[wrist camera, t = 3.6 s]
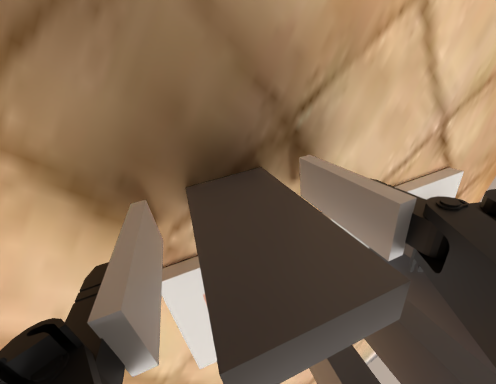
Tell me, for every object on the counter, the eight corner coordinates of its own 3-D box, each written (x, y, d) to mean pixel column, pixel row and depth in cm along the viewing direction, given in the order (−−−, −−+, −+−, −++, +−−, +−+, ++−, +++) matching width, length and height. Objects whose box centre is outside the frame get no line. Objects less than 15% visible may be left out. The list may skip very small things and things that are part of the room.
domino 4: (325, 290, 20) (444, 437, 11) (325, 250, 18) (476, 397, 9) (339, 283, 20) (465, 422, 12) (341, 244, 18) (501, 379, 9)
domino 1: (185, 187, 13) (219, 374, 4) (260, 166, 14) (411, 280, 5) (192, 209, 14) (234, 407, 5) (263, 188, 15) (399, 318, 6)
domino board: (156, 270, 14) (155, 283, 13) (449, 167, 21) (464, 171, 20) (198, 354, 19) (199, 369, 18) (423, 251, 26) (434, 257, 25)
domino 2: (279, 310, 19) (373, 492, 10) (274, 271, 16) (389, 461, 8) (295, 303, 19) (398, 472, 10) (292, 264, 17) (421, 438, 8)
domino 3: (365, 271, 21) (503, 393, 12) (371, 232, 19) (545, 347, 10) (378, 266, 21) (521, 380, 13) (385, 226, 19) (565, 333, 10)
